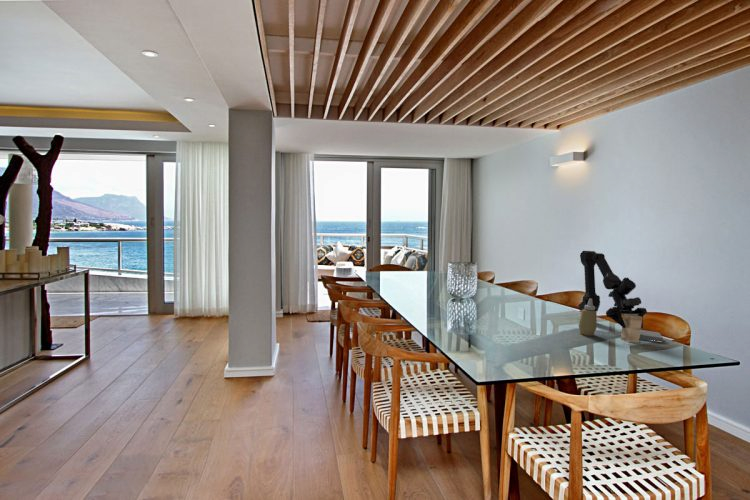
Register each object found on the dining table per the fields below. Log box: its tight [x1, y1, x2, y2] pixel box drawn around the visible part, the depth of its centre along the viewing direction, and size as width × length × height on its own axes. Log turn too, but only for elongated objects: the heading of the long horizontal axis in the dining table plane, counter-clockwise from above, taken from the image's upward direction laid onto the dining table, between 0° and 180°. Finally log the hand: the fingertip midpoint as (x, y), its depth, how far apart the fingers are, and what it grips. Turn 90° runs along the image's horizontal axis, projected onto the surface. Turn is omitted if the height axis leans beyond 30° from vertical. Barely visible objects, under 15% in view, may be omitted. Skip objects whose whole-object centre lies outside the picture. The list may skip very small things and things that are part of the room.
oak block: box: [620, 314, 642, 344], centre depth 216 cm, size 6×6×12 cm
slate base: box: [639, 329, 664, 342], centre depth 224 cm, size 11×11×2 cm
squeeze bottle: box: [578, 299, 598, 337], centre depth 223 cm, size 8×8×18 cm
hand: (633, 327), depth 215 cm, fingers open, 9 cm apart
